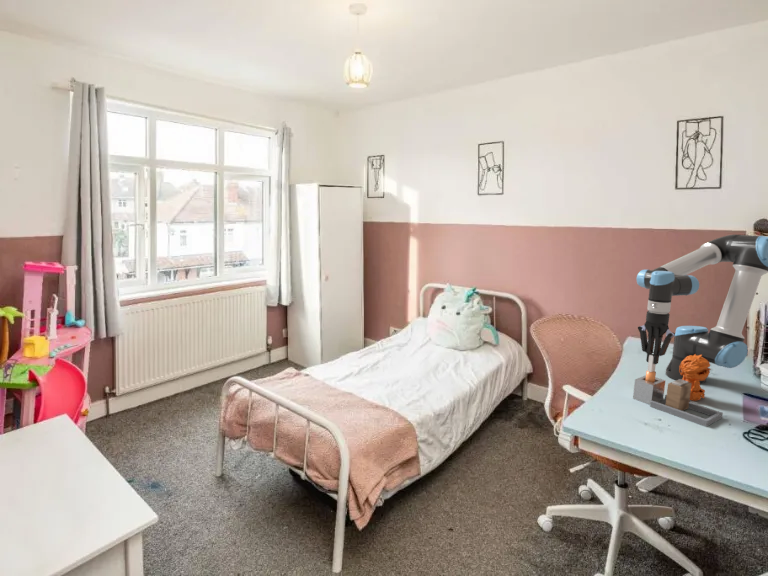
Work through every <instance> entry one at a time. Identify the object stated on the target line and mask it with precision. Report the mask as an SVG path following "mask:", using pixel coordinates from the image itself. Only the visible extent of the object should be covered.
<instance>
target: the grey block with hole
mask: <svg viewBox="0 0 768 576" xmlns="http://www.w3.org/2000/svg"><path fill="white" fill-rule="evenodd" d="M645 379H646V374H645V375H643V376H641V377H637V378H635V379H634V385H633V394H632V399H633V400H635V399H636V401H639V402H642V403H643V404H646V405H649V406H650V403H651V401H655V402H658V403H660V402H661V401H664V397H665V388H666V387H665V386H666V379H662V378H658V377H656V376H655V382H654V383H652V382H649V381H646V380H645Z"/></svg>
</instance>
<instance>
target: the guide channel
mask: <svg viewBox="0 0 768 576" xmlns="http://www.w3.org/2000/svg"><path fill="white" fill-rule="evenodd" d="M666 396H667V394H664V401H666ZM649 407H651V408H653V409H656V410H659V411H661V412H664V413H667V414H669V415H673V416H674V417H675V416H676V417H679V418H681V419H684V420H687V421H689V422H692V423H695V424H697V425H700V426H704V427H706V428H707V427H708V426H710V425H711V424H714V423H715V422H718V421H719V420H721V419H722V418H723V412H722V411H719V410H715V409H712V408H709V407H707V406H704V405H700V404H697V403H694V402H691V401H689V407H688V409H689V410H693V411H695V412H699V413H701V414H705V415H707V416H708V417H707V418H703V417H701V416H698V415H695V414H691V413H690V412H687V411H685V410H684V411H681V410H678V409H675V408H672V407H669V406H667V405H665V404H663V403H660V402H655V401H651V403H650V405H649Z"/></svg>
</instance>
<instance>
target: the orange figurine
mask: <svg viewBox="0 0 768 576" xmlns="http://www.w3.org/2000/svg"><path fill="white" fill-rule="evenodd" d="M701 356H702V355H698V356H697V355H696V354H694V356H692V355H690V356H687V357H686V358H685V359H684V360H683V361H682V362H681V364H680V366H679V372H680V370H681V371H682V372H680V374H681V375H683V379H682V380H685V381H688V382H690V383H692V385H691V393H690V400H689V401H693V402H697V401H699V400H702V399H705V397H706V396H705V395H706V394H705V392H706V391H705V389H704V388H702V387H701V383H700V382H699V381H703V380H705V379H706V380H707V378H708V377H709V375H710V373H711V370H712V368H710V366H711V363H710V362H708V360H706V359H705V358H703V357H701ZM701 398H702V399H701Z"/></svg>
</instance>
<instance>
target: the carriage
mask: <svg viewBox="0 0 768 576" xmlns="http://www.w3.org/2000/svg"><path fill="white" fill-rule="evenodd" d="M691 385H692V383H690V382H688V381H685V380H682V379H678V380H673V381H671V382H669V383H667V389H666V395H667V396H666V400H665V404H664V405H667V406H669V407H672V408H675V409H678V410H681V411H684V412H685V411H687V410H688V409H689V408H688V407H689V402H690V401H691V400H690V393H691Z"/></svg>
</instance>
